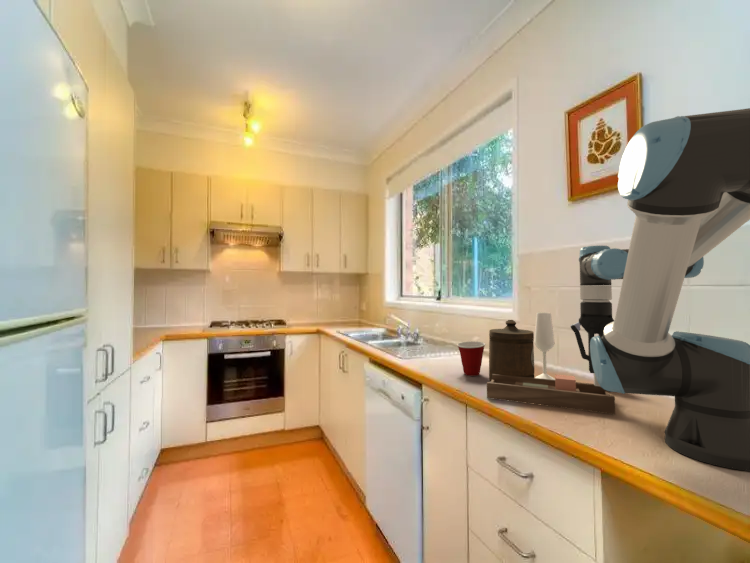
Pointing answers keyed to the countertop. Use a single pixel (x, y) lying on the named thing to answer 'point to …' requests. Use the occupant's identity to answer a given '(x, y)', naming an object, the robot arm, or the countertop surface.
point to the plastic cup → (471, 357)
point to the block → (565, 383)
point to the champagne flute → (544, 338)
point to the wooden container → (511, 351)
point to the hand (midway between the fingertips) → (597, 384)
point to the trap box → (550, 393)
